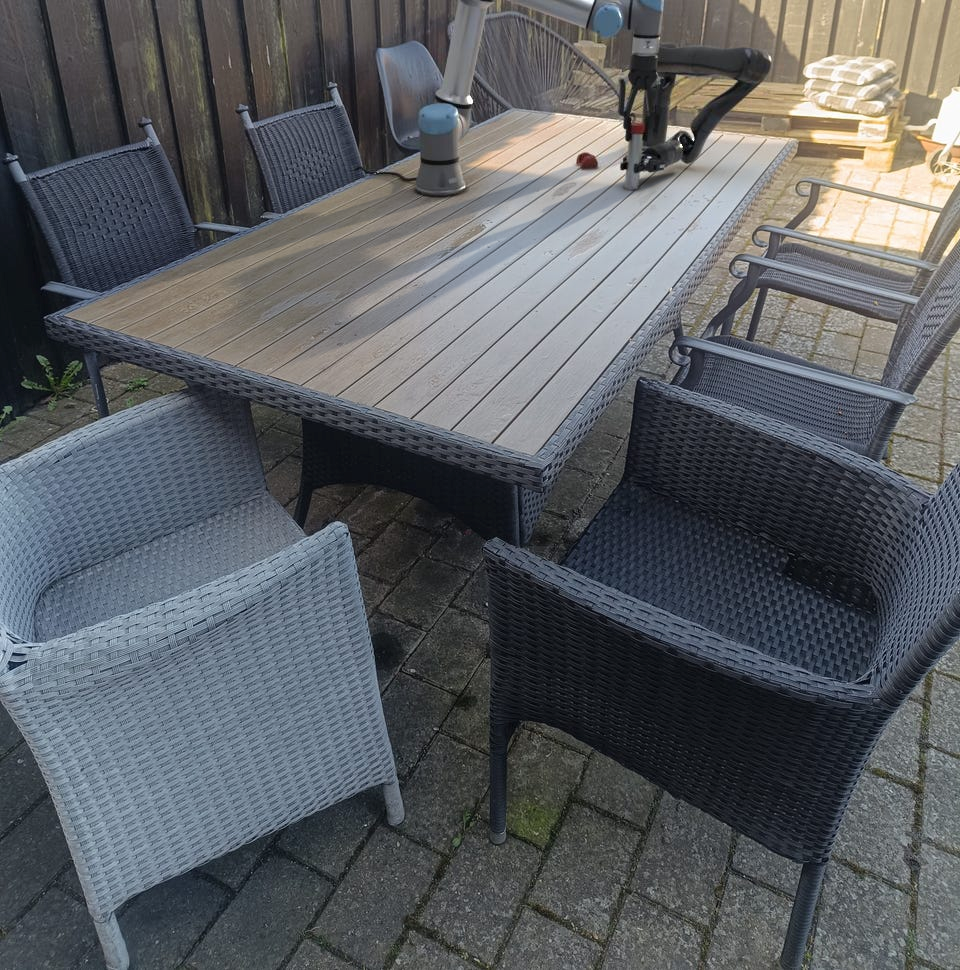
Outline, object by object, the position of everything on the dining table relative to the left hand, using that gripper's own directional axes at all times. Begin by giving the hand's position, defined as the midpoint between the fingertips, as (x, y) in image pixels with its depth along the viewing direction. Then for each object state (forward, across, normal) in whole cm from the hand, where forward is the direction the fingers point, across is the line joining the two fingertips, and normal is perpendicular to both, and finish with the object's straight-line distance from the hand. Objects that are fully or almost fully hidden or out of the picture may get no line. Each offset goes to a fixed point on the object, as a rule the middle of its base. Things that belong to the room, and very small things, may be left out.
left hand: (636, 140), depth 252 cm
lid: (-4, 0, 0) cm, 4 cm away
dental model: (+14, -10, +25) cm, 30 cm away
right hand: (+8, -2, -2) cm, 8 cm away
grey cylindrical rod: (+14, 0, 0) cm, 14 cm away
